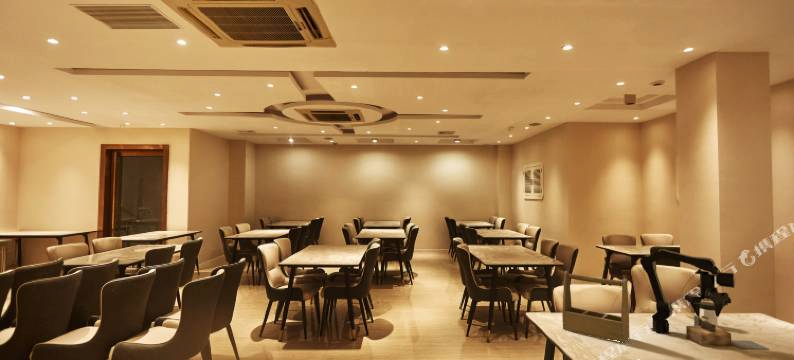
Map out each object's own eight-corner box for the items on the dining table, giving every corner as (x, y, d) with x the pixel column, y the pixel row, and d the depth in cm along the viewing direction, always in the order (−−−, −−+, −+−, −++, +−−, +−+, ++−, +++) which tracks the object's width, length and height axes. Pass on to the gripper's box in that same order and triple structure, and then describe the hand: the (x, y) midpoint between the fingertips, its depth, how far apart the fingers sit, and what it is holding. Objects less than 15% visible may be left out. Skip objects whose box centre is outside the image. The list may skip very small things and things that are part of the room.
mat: (740, 349, 185) (740, 348, 185) (723, 341, 195) (723, 340, 195) (769, 349, 185) (769, 348, 185) (750, 341, 195) (750, 340, 195)
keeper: (698, 335, 203) (698, 317, 203) (694, 333, 206) (694, 315, 206) (708, 335, 202) (708, 317, 203) (703, 333, 206) (703, 315, 206)
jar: (713, 329, 212) (712, 306, 212) (695, 325, 218) (694, 303, 219) (719, 326, 216) (719, 304, 217) (702, 322, 223) (701, 300, 224)
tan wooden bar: (704, 324, 200) (704, 320, 200) (686, 316, 213) (685, 312, 213) (709, 324, 200) (709, 320, 200) (690, 316, 213) (690, 312, 213)
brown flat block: (701, 345, 189) (701, 335, 189) (686, 338, 199) (686, 327, 199) (731, 346, 189) (731, 335, 189) (714, 338, 198) (714, 328, 199)
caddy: (562, 329, 210) (561, 272, 211) (569, 324, 218) (569, 269, 219) (624, 344, 190) (623, 280, 191) (629, 338, 198) (629, 277, 199)
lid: (701, 337, 189) (701, 326, 189) (686, 329, 199) (686, 319, 199) (731, 337, 189) (731, 326, 189) (714, 330, 199) (714, 320, 199)
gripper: (700, 288, 186) (701, 321, 186) (740, 288, 186) (741, 322, 186) (683, 282, 198) (684, 314, 197) (721, 283, 197) (721, 314, 197)
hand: (707, 316), depth 194 cm, fingers open, 9 cm apart
